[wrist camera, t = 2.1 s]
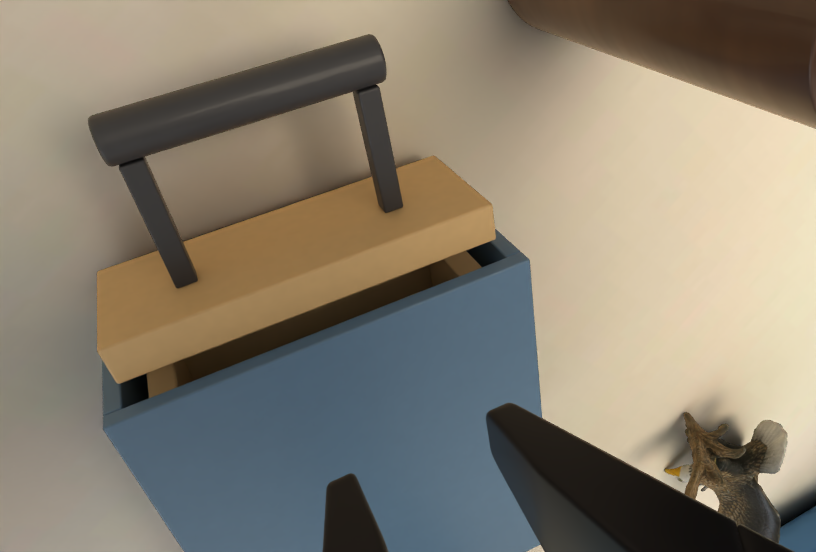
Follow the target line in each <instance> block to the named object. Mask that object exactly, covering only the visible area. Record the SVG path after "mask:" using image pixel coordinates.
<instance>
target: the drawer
mask: <svg viewBox="0 0 816 552" xmlns="http://www.w3.org/2000/svg"><path fill="white" fill-rule="evenodd" d="M385 79H386V62H385V58H384V54H383V51H382V49H381V46H380V44H379V42H378V41H377V39H376V38H375V36H373V35H370V34H368V35H364V36H361V37H358V38H354V39H351V40H347V41H344V42H340V43H337V44H334V45H330V46H327V47H323V48H320V49H317V50H313V51H310V52H306V53H303V54H300V55H296V56H293V57H289V58H286V59H283V60H279V61H276V62H272V63H269V64H266V65H262V66H259V67H255V68H252V69H249V70H245V71H242V72H238V73H235V74H231V75H228V76H225V77H221V78H218V79H214V80H211V81H208V82H204V83H201V84H197V85H194V86H191V87H187V88H184V89H180V90H177V91H174V92H170V93H167V94H163V95H160V96H157V97H153V98H150V99H146V100H143V101H140V102H136V103H133V104H129V105H126V106H123V107H119V108H116V109H112V110H109V111H105V112H102V113H99V114H95V115H92V116H90V117H89V118H88V125H89V128H90V132H91V134H92V137H93V140H94V142H95V144H96V146H97V149H98V151H99V153H100V155H101V156H102V158H103V160H104V161H105V163H106V164H107V165H108V166H116V165H119V170H120V172H121V174H122V176H123V178H124V180H125V182H126V184H127V186H128V188H129V191H130V193H131V195H132V197H133V199H134V201H135V203H136V205H137V207H138V209H139V212H140V214H141V216H142V218H143V220H144V222H145V224H146V226H147V228H148V230H149V233H150V235H151V237H152V239H153V241H154V243H155V245H156V247H157V249H158V251H155V252H152V253H149V254H146V255H143V256H140V257H138V258H135V259H132V260H129V261H126V262H123V263H120V264H117V265H114V266H111V267H109V268H106V269H103V270H100V271H98V272H97V352H98V354H99V355H100V357H101V358H102V360H103V362H104V363H105V365H106V367H107V368H108V370H109V372H110V373H111V375H112V377H113V378H114V380H115V382H116V383H118V384H120V383H123V382H125V381H128V380H131V379H133V378H136V377H138V376H141V375H144V374H146V373H147V383H148V393H149V398H151V397H154V396H156V395H159V394H161V393H164V392H166V391H169V390H171V389H174V388H176V387H179V386H182V385H184V384H187V383H189V382H192V381H194V380H197V379H199V378H202V377H204V376H207V375H210V374H212V373H215V372H217V371H220V370H222V369H225V368H227V367H230V366H232V365H235V364H238V363H240V362H243V361H245V360H248V359H250V358H253V357H255V356H258V355H260V354H263V353H266V352H268V351H271V350H273V349H276V348H278V347H281V346H283V345H286V344H288V343H291V342H294V341H296V340H299V339H301V338H304V337H306V336H309V335H311V334H314V333H316V332H319V331H322V330H324V329H327V328H329V327H332V326H334V325H337V324H339V323H342V322H344V321H347V320H350V319H352V318H355V317H357V316H360V315H362V314H365V313H367V312H370V311H372V310H375V309H378V308H380V307H383V306H385V305H388V304H390V303H393V302H395V301H398V300H400V299H403V298H406V297H408V296H411V295H413V294H416V293H418V292H421V291H423V290H426V289H428V288H431V287H434V286H436V285H439V284H441V283H444V282H446V281H449V280H451V279H454V278H456V277H459V276H462V275H464V274H467V273H469V272H472V271H474V270H477V269H479V268H482V267H481V266H480V265H479V264H478V263H477V262H476V261H475V259H474V258H473V257H472V256H471V255H470V254H469V253H468V252H467V251H466V250H469V249H472V248H474V247H477V246H479V245H482V244H485V243H487V242H490V241H492V240H495V239H496V234H495V225H494V216H493V207H492V204H491V203H490V202H489V201H488V200H486V199H485V198H484V197H483V196H482V195H480V194H479V193H478V192H477V191H476V190H475V189H473V188H472V187H471V186H470V185H469V184H467V183H466V182H465V181H464V180H463V179H462V178H460V177H459V176H458V175H457V174H456V173H454V172H453V171H452V170H451V169H450V168H448V167H447V166H446V165H445V164H444V163H443V162H441V161H440V160H439V159H438V158H437V157H435V156H430V157H427V158H425V159H422V160H419V161H416V162H413V163H410V164H407V165H404V166H401V167H399V168H396V167H395V162H394V157H393V152H392V147H391V142H390V137H389V132H388V127H387V122H386V117H385V113H384V108H383V103H382V98H381V93H380V88H379V87H378V86H377V85H376V84H379V83H382V82H383V81H384V80H385ZM350 92H353V96H354V100H355V104H356V109H357V113H358V117H359V122H360V126H361V131H362V135H363V139H364V144H365V148H366V152H367V157H368V161H369V166H370V170H371V174H372V177H370V178H367V179H364V180H361V181H358V182H355V183H352V184H349V185H346V186H343V187H341V188H338V189H335V190H332V191H329V192H326V193H323V194H320V195H317V196H314V197H312V198H309V199H306V200H303V201H300V202H297V203H294V204H291V205H288V206H285V207H283V208H280V209H277V210H274V211H271V212H268V213H265V214H262V215H259V216H256V217H254V218H251V219H248V220H245V221H242V222H239V223H236V224H233V225H230V226H227V227H225V228H222V229H219V230H216V231H213V232H210V233H207V234H204V235H201V236H198V237H196V238H193V239H190V240H187V241H184V242H183V241H182V239H181V236H180V234H179V232H178V230H177V227H176V225H175V223H174V221H173V219H172V216H171V214H170V212H169V210H168V207H167V205H166V203H165V201H164V198H163V196H162V194H161V192H160V189H159V187H158V185H157V183H156V180H155V178H154V176H153V174H152V171H151V169H150V167H149V165H148V162H147V160H146V158H145V156H148V155H151V154H155V153H158V152H161V151H164V150H167V149H171V148H174V147H177V146H180V145H183V144H187V143H190V142H193V141H196V140H199V139H203V138H206V137H209V136H212V135H215V134H219V133H222V132H225V131H228V130H231V129H235V128H238V127H241V126H244V125H247V124H251V123H254V122H257V121H260V120H263V119H267V118H270V117H273V116H276V115H279V114H283V113H286V112H289V111H292V110H295V109H299V108H302V107H305V106H308V105H311V104H315V103H318V102H321V101H324V100H327V99H331V98H334V97H337V96H340V95H343V94H347V93H350Z"/></svg>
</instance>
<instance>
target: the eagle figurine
mask: <svg viewBox="0 0 816 552" xmlns="http://www.w3.org/2000/svg"><path fill="white" fill-rule="evenodd" d="M684 419H685V422H686V427H687V429H686V430H685V433H686V435H687V436H688V439H687V441H688V442H689V444H690V447H691V450H692V457H693V462H694V463H693V464H690V465H683V466H681V467H678V468H675V469H665V472H666V473H668V474H671V475H673V476H675V477H676V478H677V479H678V480H679V481H681V482H688V484H687V486H686V490H685V495H687V496H689V497H691V498H693V499H695V498H696V496H697V491H698V487H699V484H702V485H705V486H704V487H703V488H702V489H701V491H705V490H706V489H707V488H710V489H712V490H713V491H714V492H715V493H716V495H717V497H718V499H719V503H720V505H719V509H718V512H719V513H721V514H723V515H725V516H727V517H729V518H731V519H732V520H734V521H735V522H736V524H737V526H738V525H739V524H742V525H744V526H746V527H748V528H750V529H752V530H753V531H755V532H757V533H759V534H761V535H763V536H765V537H767V538H769V539H770V540H772V541H774V542H776V543H778V544H779V541H780V528H781V519H780V515H779V513H778V512H777V510H776V509H775V508H774V506H773V505H772V504H771V502H770V500H769V499H768V498H767V496H766V495H765V493H764V491H763V489H762V487H761V486H760V485H759V484H758V474H759V473H769V474H775V473H777V472H778V471H779V470H780V467H781V465H782V463H783V459H784V456H785V451H786V447H787V432H786V431H785V430H784V429H783V427H782V426H781V424H779V423H776V422H773V421H771V420H764V421H762V422H761V423H760V424H759V425H758V426H757V428H756V429H754V434H753V437H752V439H751V442H749V443H747V444H746V445H744V446H737V445H733V444H730V443H727V442H725V441H724V440H722V439H719V437H721V436H722V435H724V434H725V433H726V432H727V430H728V428H729V425H728V424H722V425H721V426H720V427H719V428H718V430H716V431H713V432H710V433H708V432H706V431H705V430H704V429H702V428H701V427H700V426H699V425H698V424H697V423H696V421H695V420H694V418H693V417H692V416H691V415H690V414H689V413H687V412H685V413H684ZM695 500H696V499H695Z"/></svg>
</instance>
